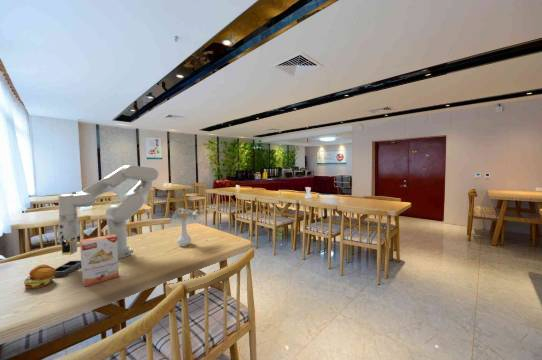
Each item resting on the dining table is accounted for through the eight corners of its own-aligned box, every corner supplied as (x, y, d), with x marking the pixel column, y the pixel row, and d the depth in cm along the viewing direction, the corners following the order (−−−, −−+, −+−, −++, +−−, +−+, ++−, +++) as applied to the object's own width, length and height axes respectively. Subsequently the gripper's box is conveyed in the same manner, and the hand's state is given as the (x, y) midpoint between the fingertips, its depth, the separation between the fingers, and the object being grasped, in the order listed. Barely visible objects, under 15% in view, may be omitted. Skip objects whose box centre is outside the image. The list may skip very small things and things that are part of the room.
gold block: (77, 251, 132) (77, 239, 131) (71, 254, 127) (70, 241, 127) (68, 251, 131) (67, 239, 131) (61, 254, 127) (61, 241, 126)
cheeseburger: (36, 279, 117) (40, 259, 117) (59, 283, 118) (63, 264, 118) (16, 290, 107) (20, 268, 107) (41, 294, 108) (46, 273, 108)
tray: (84, 264, 134) (83, 260, 134) (64, 276, 120) (63, 271, 120) (70, 265, 134) (70, 260, 133) (48, 277, 120) (48, 272, 119)
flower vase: (201, 242, 170) (200, 207, 168) (179, 250, 155) (178, 212, 153) (189, 239, 177) (188, 206, 175) (167, 246, 162) (165, 210, 160)
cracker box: (84, 287, 109) (81, 242, 108) (82, 282, 114) (79, 239, 112) (119, 276, 119) (117, 235, 118) (116, 273, 123) (114, 233, 122)
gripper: (63, 220, 120) (64, 256, 121) (86, 214, 137) (87, 245, 138) (47, 220, 119) (48, 256, 120) (73, 214, 136) (74, 245, 137)
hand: (69, 250), depth 129 cm, fingers closed on gold block, 4 cm apart
